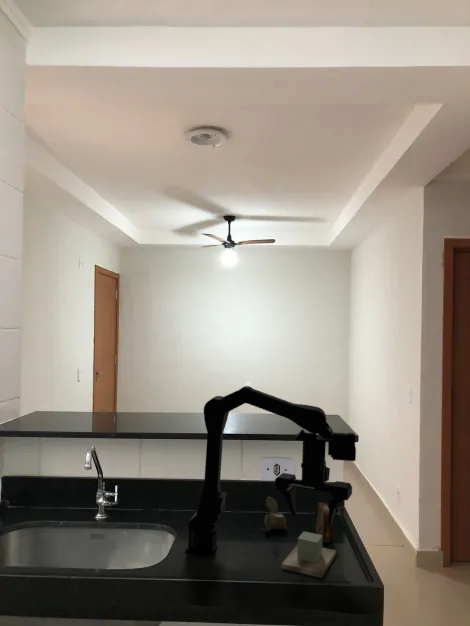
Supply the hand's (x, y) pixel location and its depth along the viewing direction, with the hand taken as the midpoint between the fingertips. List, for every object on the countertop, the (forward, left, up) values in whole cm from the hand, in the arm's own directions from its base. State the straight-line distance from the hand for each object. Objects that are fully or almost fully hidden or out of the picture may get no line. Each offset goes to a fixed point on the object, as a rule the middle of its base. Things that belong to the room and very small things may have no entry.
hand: (311, 520), depth 135 cm
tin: (-1, +17, -11) cm, 20 cm away
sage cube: (0, 0, -9) cm, 9 cm away
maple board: (0, 0, -10) cm, 10 cm away
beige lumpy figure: (-15, +16, -11) cm, 24 cm away
